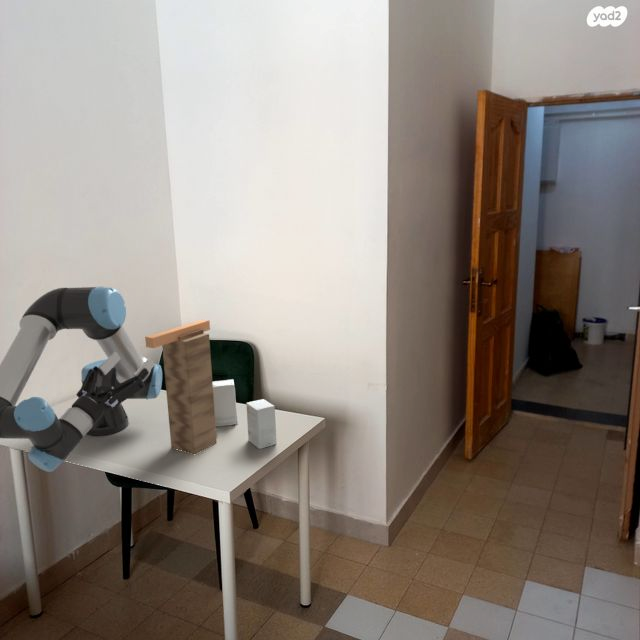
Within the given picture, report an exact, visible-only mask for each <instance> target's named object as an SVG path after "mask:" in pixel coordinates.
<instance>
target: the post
mask: <svg viewBox="0 0 640 640" xmlns="http://www.w3.org/2000/svg"><path fill="white" fill-rule="evenodd" d="M178 338H179V340H177V341H174V342H171V343H168V344H165V345H162V346H161V347H162V357H163V371H164V379H165V390H166V400H167V412H168V413H167V415H168V422H169V423H168V424H169V434H170V435H169V437H170V447H171V449H172V448H174V449H173V450H176V449H178V450H177V451H179V450H182V451H181V452H183V451H186V452H189V453H188V454H190V453H192V454H191V455H194V454H196V455H198V454H199V452H200V451H201V452H203V451H204V449H205V450H206V448H207V449H209V448H210V447H212V446H213V444H214V445H215V444H217V443H218V442H217V430H216V429H217V426H216V425H215V411H214V397H213V383H212V382H213V371H212V359H211V358H212V357H211V344H210V334H209V333H205V332H203V329H201V330H198V331H194V332H191V333H188V334H185V335H182V336H179V337H178ZM211 445H212V446H211ZM209 446H210V447H209ZM202 450H203V451H202ZM186 452H185V453H186ZM201 452H200V453H201ZM197 453H198V454H197Z"/></svg>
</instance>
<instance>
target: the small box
mask: <svg viewBox="0 0 640 640" xmlns="http://www.w3.org/2000/svg"><path fill="white" fill-rule="evenodd" d="M275 408H276V407H275V405H274V404H272V403H271V402H270V401H267V400H266V399H264V398H261V399H257V400H253V401H249V402H246V421H247V423H246V424H247V438H248V442H250V443H251V444H252V445H253V446H254V447H256V448H257V449H259V450H260V449H264V448H268V447H271V446H274V445H277V429H276V428H277V427H276V425H277V424H276V409H275Z"/></svg>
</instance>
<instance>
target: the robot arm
mask: <svg viewBox="0 0 640 640" xmlns="http://www.w3.org/2000/svg"><path fill="white" fill-rule="evenodd" d="M126 307H127V306H126V305H125V300H124V297H123V296H122V294H121V293H120V292H119V290H117V289H115V288H113V287H109V286H108V287H105V286H92V287H91V286H90V287H87V286H86V287H58V288H55V289H52V290H50V291H48V292H46V293H44V294H43V295H41V296H39V298H37V299H36V300H35V301H34V302H33V303H32V304H31V305H30V306H29V307H28V308H27V310H25V311H24V314H23V315H22V317H21V318H20V320H19V327H20V329H19V331H18V332H17V334H16V336H15V337H14V339H13V341H12V343H11V344H10V347H9V348H8V350H7V352H6V354H5V356H4V357H3V359H2V360H1V362H0V439H12V440H13V439H15V440H16V439H17V440H19V439H20V440H25V439H26V440H29V441H30V443H31V444H32V445H33V446H32V447H31V448H30V449H29V451H28V453H27V458H28V460H29V461H30V462H31V463H32V464H33V465H34V466H36V467H37V468H39V469H40V470H43V471H44V472H49V473H51V472H53V471H55V470H56V469H57V468H58V467H59V466H60V465H61V464H62V462H64V461H65V460H66V459H67V457H68V456H69V455H70V454H71V452H72V451H73V450H74V449H75V448H76V446H78V445H79V443H80V442H81V440H83V438H84V437H85V436H86V435H89V436H107V435H112V434H115V433H118V432H120V431H123V430H125V429H126V428H127V427H128V426H129V415H127V412H126V411H125V408H124V406H123V405H122V403H123V402H125V401H126V400H152V399H153V400H154V399H156V398H157V397H159V395H160V393H161V390H162V385H163V384H162V383H163V369H162V366H161V365H160V364H157V363H155V362H154V361H153V359H152V357H149V356H148V358H146V357H145V356H143V355H141V354H140V352H139V350H138V349H137V348H136V346H135V344H134V343H133V341H132V339H131V338H130V336H129V334H128V332H127V330H126V328H125V327H124V323H125V321H126V316H127V308H126ZM62 330H82V331H83V333H84V334H85V335H86V337H88V338H89V339H92V340H94V341H96V342H97V343H98V345H99V347H100V348H101V349H102V351H103V352H104V354H105V355H106V357H107V358H106V359H101V360H97V361H93V362H90V363H89V364H86V365H85V366H83V367H82V369H81V387H80V389H79V390H78V391H77V393H76V394H75V395H76V396H77V399H76V400H75V401H74V402H73V404H72V405H71V407H68V408H67V409H66V410H65V412H64V413H63V414H62V415H61V416H60V418H58V416H57V414H56V412H55V410H54V409H53V407H52V406H50V405H49V403H48V402H47V401H46V399H44V398H42V397H40V396H31V397H29V398H27V399H24V400H22V401H21V402H19V403H18V404H17V402H18V401H19V399H20V398H21V395H22V393H23V391H24V389H25V387H26V385H27V384H28V382H29V379H30V377H31V376H32V373H33V372H34V369H35V368H36V366H37V364H38V361H39V360H40V358H41V356H42V353H44V350H45V348H46V346H47V344H48V342H49V341H52V340H53V339H54V338H55V336H56V335H57V333H58V332H59V331H62ZM16 404H17V405H16Z"/></svg>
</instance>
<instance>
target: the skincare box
mask: <svg viewBox="0 0 640 640" xmlns="http://www.w3.org/2000/svg"><path fill="white" fill-rule="evenodd" d="M234 381H235V380H234V379H233V378H232V379H226V380H225V379H224V380H215V381H212V383H213V397H214V411H215V425H216V427H223V426H232V425H233V426H234V424H235V425H238V423H239V422H238V410H237V409H238V408H237V401H236V388H235V382H234Z"/></svg>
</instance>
